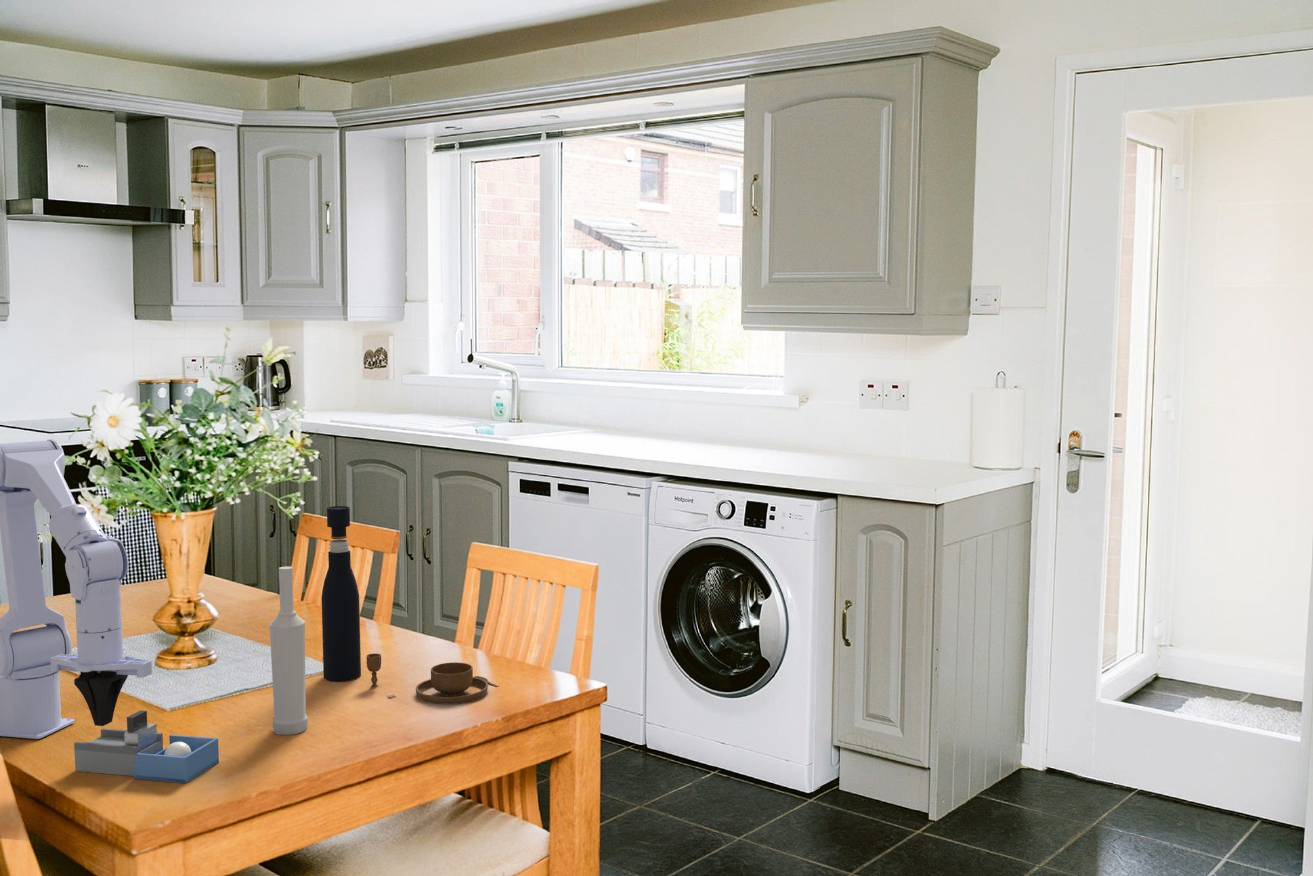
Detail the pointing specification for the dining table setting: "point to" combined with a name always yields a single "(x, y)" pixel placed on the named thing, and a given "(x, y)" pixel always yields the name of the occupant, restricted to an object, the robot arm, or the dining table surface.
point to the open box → (178, 761)
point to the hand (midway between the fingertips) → (103, 723)
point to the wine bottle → (340, 605)
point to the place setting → (441, 681)
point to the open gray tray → (111, 753)
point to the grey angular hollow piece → (140, 730)
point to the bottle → (288, 662)
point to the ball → (178, 749)
